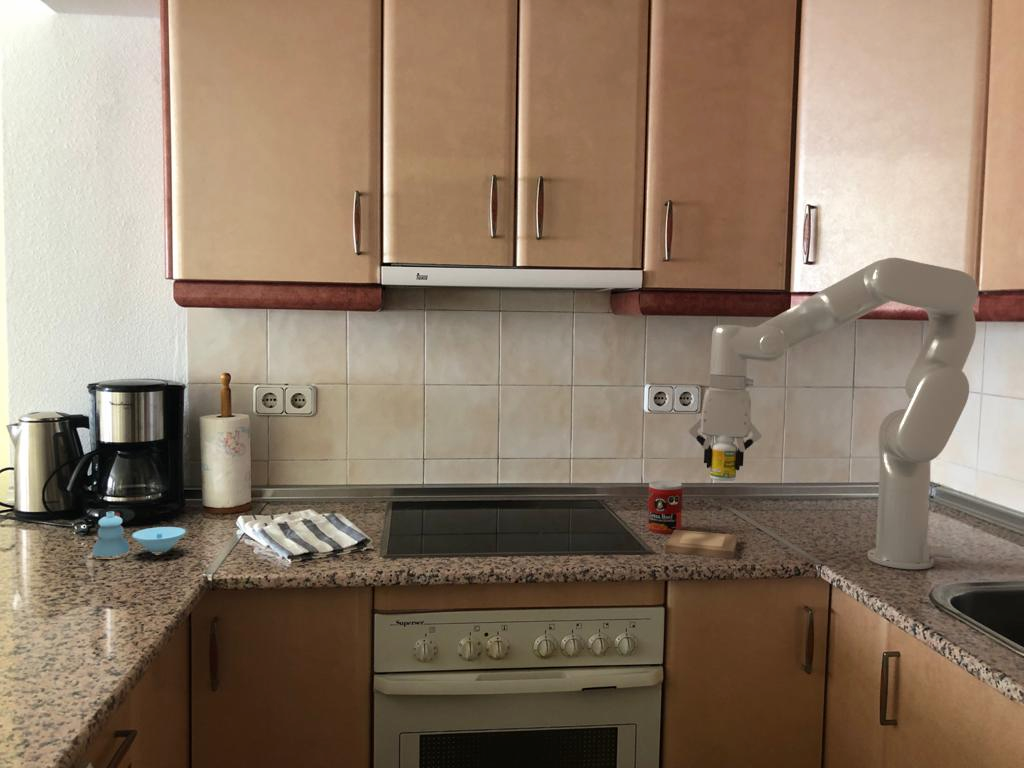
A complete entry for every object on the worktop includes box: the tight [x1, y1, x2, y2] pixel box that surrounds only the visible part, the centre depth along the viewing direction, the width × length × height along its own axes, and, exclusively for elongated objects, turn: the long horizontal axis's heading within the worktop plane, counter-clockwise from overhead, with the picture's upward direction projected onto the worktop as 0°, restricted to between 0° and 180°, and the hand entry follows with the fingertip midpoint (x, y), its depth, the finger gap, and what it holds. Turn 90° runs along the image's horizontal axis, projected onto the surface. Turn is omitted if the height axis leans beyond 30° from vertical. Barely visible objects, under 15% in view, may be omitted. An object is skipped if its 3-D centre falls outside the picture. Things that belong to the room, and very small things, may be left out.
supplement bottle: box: [709, 436, 738, 482], centre depth 185 cm, size 5×5×10 cm
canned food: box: [647, 480, 683, 535], centre depth 204 cm, size 8×8×11 cm
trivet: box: [665, 529, 739, 559], centre depth 190 cm, size 14×14×2 cm
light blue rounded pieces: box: [92, 511, 187, 557], centre depth 179 cm, size 18×10×9 cm, turn 100°
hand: (723, 467), depth 186 cm, fingers closed on supplement bottle, 5 cm apart
